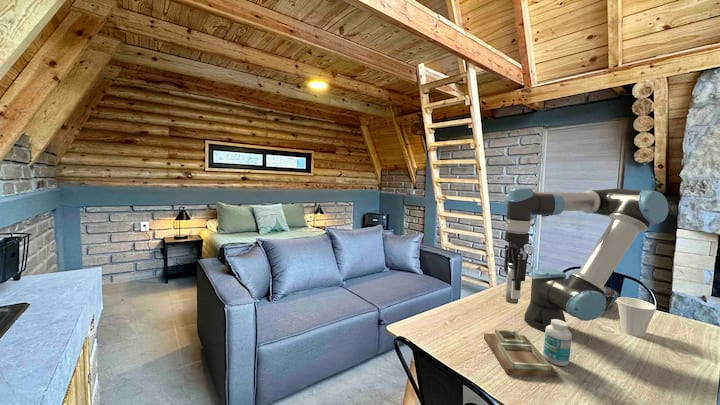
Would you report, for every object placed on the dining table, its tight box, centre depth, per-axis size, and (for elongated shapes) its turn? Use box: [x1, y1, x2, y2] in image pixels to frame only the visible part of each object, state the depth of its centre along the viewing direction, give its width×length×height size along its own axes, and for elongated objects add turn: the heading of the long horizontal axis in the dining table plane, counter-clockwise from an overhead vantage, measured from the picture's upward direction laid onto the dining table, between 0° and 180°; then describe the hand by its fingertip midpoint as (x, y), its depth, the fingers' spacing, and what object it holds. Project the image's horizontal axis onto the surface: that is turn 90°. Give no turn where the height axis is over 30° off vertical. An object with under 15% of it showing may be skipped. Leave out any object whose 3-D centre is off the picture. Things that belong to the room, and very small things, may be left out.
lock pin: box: [505, 262, 519, 305], centre depth 107 cm, size 5×5×14 cm
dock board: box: [483, 329, 558, 379], centre depth 103 cm, size 15×21×4 cm
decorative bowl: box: [603, 285, 621, 313], centre depth 149 cm, size 26×28×10 cm
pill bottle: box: [542, 319, 573, 367], centre depth 101 cm, size 8×7×14 cm
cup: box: [616, 296, 657, 337], centre depth 121 cm, size 12×12×12 cm
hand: (512, 295), depth 108 cm, fingers closed on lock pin, 4 cm apart
